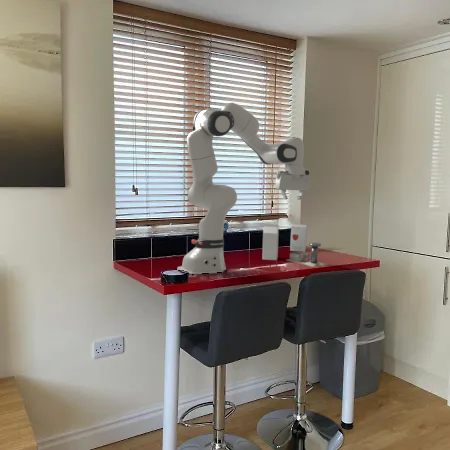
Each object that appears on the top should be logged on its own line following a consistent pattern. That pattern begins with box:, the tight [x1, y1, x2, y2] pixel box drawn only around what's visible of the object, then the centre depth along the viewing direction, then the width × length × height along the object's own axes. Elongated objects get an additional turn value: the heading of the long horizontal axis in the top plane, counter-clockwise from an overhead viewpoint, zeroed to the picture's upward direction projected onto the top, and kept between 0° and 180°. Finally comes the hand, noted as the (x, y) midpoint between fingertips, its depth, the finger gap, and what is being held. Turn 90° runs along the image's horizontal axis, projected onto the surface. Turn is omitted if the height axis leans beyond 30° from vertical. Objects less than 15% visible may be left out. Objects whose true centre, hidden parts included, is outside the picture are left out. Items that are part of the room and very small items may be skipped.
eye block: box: [286, 251, 329, 268], centre depth 223 cm, size 11×19×5 cm, turn 34°
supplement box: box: [289, 223, 308, 253], centre depth 266 cm, size 9×9×15 cm
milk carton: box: [261, 223, 279, 261], centre depth 230 cm, size 7×7×19 cm
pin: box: [308, 242, 322, 264], centre depth 218 cm, size 6×6×10 cm
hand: (292, 199), depth 223 cm, fingers open, 8 cm apart
